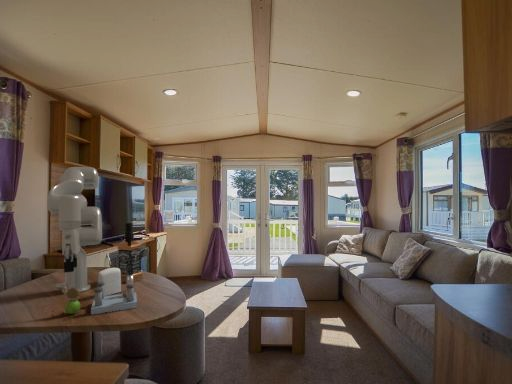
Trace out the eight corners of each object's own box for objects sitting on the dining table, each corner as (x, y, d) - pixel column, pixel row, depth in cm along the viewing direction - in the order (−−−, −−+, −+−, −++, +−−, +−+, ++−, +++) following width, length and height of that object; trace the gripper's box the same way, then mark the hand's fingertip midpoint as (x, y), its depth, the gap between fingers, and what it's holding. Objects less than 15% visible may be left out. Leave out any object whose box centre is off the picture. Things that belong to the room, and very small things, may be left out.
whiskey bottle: (115, 281, 167) (115, 223, 167) (129, 277, 176) (128, 221, 176) (130, 283, 163) (129, 223, 163) (143, 278, 172) (142, 222, 172)
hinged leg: (133, 298, 131) (133, 279, 131) (126, 299, 129) (126, 280, 130) (133, 292, 138) (133, 274, 138) (126, 293, 137) (126, 275, 137)
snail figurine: (66, 311, 124) (66, 282, 125) (83, 310, 125) (82, 281, 125) (59, 316, 119) (59, 286, 119) (76, 315, 119) (76, 285, 120)
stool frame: (91, 314, 120) (90, 291, 120) (94, 303, 133) (94, 282, 133) (137, 307, 127) (136, 286, 127) (136, 297, 140) (135, 277, 140)
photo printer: (100, 298, 140) (100, 271, 140) (96, 296, 143) (96, 269, 143) (122, 292, 148) (122, 266, 148) (118, 290, 151) (118, 265, 151)
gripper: (77, 227, 116) (78, 273, 115) (83, 223, 132) (84, 264, 132) (54, 228, 113) (55, 276, 113) (63, 224, 129) (64, 266, 129)
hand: (70, 269), depth 122 cm, fingers open, 7 cm apart
